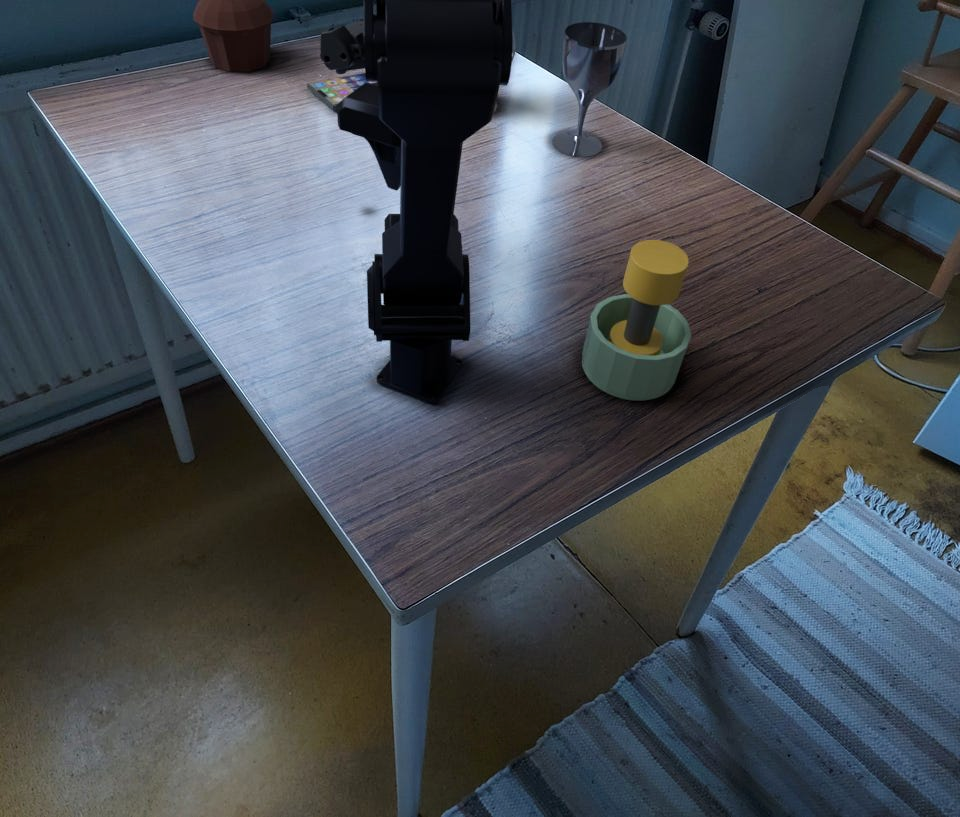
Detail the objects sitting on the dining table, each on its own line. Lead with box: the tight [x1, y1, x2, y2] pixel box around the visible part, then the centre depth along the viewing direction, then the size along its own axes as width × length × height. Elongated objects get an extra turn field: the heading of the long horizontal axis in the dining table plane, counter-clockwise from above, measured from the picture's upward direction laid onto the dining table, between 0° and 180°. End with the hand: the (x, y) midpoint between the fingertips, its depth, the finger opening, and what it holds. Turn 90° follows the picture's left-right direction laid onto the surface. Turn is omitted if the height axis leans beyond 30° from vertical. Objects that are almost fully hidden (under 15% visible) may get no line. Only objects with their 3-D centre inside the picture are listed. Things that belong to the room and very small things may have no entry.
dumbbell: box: [608, 239, 690, 356], centre depth 74 cm, size 5×5×13 cm
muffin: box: [192, 0, 275, 73], centre depth 118 cm, size 12×11×10 cm
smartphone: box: [306, 72, 378, 111], centre depth 117 cm, size 8×15×1 cm, turn 125°
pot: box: [581, 293, 692, 402], centre depth 77 cm, size 10×10×6 cm
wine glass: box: [551, 21, 628, 158], centre depth 105 cm, size 8×8×15 cm
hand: (415, 167), depth 78 cm, fingers open, 9 cm apart
